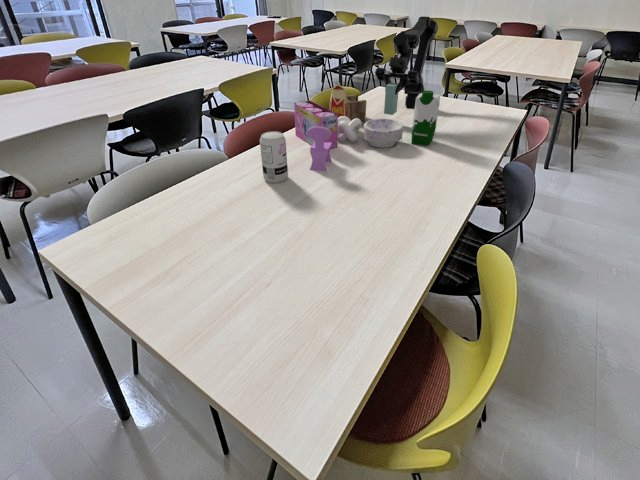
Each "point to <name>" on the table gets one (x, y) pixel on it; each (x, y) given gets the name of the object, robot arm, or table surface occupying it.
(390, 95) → the teal rectangular block
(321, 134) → the toy chair
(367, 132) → the marble bowl
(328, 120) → the gum box
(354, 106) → the cabinet carcass
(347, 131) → the white knot sculpture
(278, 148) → the supplement can
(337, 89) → the milk carton
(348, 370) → the table surface
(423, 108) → the soya milk
